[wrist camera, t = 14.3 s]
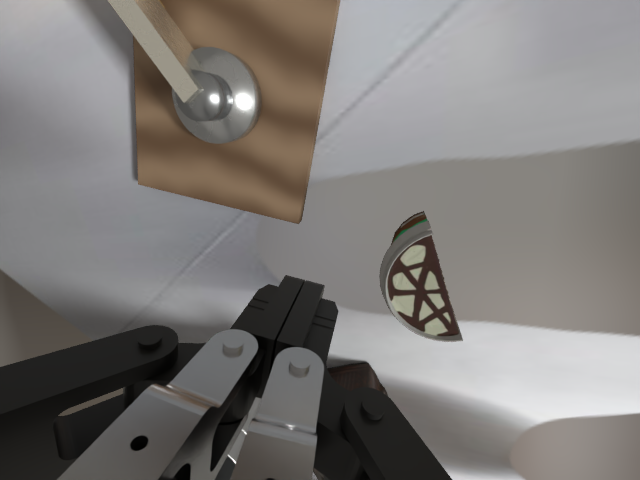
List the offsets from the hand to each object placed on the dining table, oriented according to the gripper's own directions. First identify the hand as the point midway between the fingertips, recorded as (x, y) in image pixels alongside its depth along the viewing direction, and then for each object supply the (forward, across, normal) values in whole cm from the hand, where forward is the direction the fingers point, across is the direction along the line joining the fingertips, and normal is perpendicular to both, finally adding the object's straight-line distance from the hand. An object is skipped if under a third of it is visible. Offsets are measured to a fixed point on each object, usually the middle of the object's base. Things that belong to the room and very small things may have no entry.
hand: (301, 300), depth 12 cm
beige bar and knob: (+25, +19, -8) cm, 33 cm away
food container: (+27, -8, +8) cm, 29 cm away
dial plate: (+27, +16, -5) cm, 32 cm away
